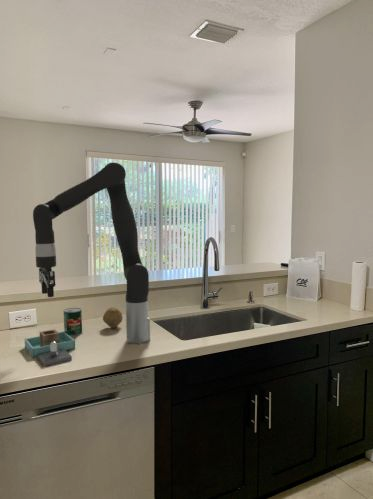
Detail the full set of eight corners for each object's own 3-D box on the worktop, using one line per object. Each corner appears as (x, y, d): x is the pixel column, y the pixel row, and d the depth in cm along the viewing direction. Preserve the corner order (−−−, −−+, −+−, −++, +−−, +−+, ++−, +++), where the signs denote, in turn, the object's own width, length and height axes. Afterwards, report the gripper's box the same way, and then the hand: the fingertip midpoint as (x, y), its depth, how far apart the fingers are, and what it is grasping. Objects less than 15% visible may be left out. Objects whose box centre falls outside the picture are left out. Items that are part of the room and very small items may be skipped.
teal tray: (64, 339, 159) (64, 331, 158) (75, 348, 147) (74, 340, 147) (24, 347, 149) (24, 339, 149) (33, 357, 138) (32, 348, 138)
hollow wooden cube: (55, 343, 152) (54, 329, 152) (59, 347, 148) (58, 332, 147) (40, 346, 149) (39, 332, 148) (44, 350, 144) (43, 335, 144)
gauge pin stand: (63, 352, 144) (62, 335, 143) (71, 360, 135) (71, 342, 135) (36, 358, 138) (35, 340, 137) (43, 366, 130) (43, 348, 129)
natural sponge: (99, 329, 172) (98, 309, 171) (108, 324, 181) (108, 304, 180) (116, 331, 169) (116, 310, 169) (125, 325, 178) (125, 305, 177)
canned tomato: (74, 329, 172) (73, 306, 171) (86, 332, 168) (85, 308, 167) (60, 334, 166) (59, 310, 165) (72, 337, 162) (71, 312, 161)
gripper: (60, 255, 141) (62, 296, 143) (50, 252, 153) (52, 291, 154) (40, 257, 137) (42, 299, 138) (31, 254, 149) (33, 293, 150)
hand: (47, 295), depth 146 cm, fingers open, 8 cm apart
